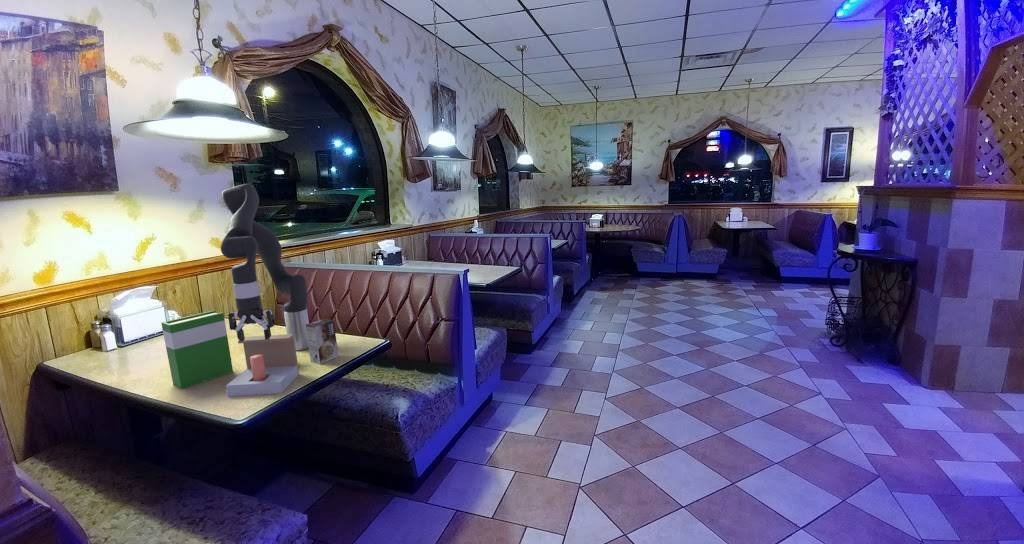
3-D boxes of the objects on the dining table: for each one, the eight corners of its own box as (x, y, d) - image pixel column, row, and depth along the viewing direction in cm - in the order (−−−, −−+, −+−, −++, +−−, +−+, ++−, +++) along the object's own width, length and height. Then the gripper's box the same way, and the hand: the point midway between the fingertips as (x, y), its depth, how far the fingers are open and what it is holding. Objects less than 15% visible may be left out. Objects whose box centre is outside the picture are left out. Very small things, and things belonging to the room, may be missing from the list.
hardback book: (224, 368, 185) (214, 310, 180) (233, 371, 181) (223, 312, 176) (173, 384, 171) (161, 322, 166) (181, 389, 166) (169, 325, 162)
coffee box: (328, 354, 195) (324, 317, 192) (339, 357, 192) (334, 319, 189) (309, 362, 188) (304, 324, 184) (320, 364, 184) (315, 326, 181)
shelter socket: (250, 377, 175) (243, 336, 172) (299, 374, 176) (293, 334, 173) (227, 396, 159) (220, 352, 156) (281, 393, 160) (275, 349, 157)
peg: (252, 391, 162) (247, 359, 160) (258, 386, 166) (253, 354, 164) (264, 390, 163) (259, 358, 160) (269, 385, 167) (264, 354, 164)
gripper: (220, 298, 154) (228, 345, 157) (264, 296, 154) (271, 342, 158) (231, 293, 161) (239, 337, 164) (273, 290, 162) (280, 334, 165)
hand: (255, 339), depth 161 cm, fingers open, 8 cm apart
